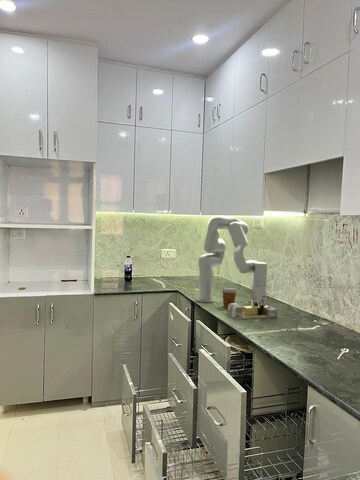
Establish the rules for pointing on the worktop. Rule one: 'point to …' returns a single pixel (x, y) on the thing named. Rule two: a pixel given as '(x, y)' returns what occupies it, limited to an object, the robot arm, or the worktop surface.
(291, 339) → the worktop surface
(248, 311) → the brass tube
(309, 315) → the worktop surface
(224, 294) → the disposable coffee cup
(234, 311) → the tray with grey blocks
